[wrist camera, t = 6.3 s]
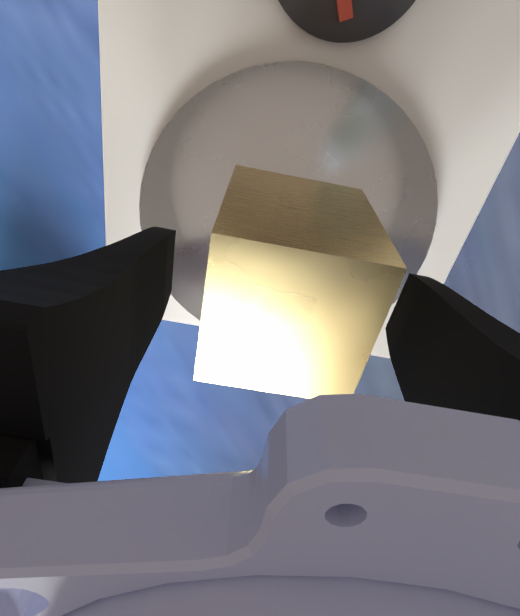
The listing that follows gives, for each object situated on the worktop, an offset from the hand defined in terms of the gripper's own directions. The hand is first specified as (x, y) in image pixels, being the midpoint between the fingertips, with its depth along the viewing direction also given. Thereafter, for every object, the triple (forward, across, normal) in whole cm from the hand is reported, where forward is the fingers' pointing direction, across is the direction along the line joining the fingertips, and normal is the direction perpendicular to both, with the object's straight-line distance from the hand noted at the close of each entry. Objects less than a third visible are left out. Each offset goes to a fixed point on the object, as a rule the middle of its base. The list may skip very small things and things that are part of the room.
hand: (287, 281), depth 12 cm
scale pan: (+4, 0, 0) cm, 4 cm away
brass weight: (+4, 0, 0) cm, 4 cm away
